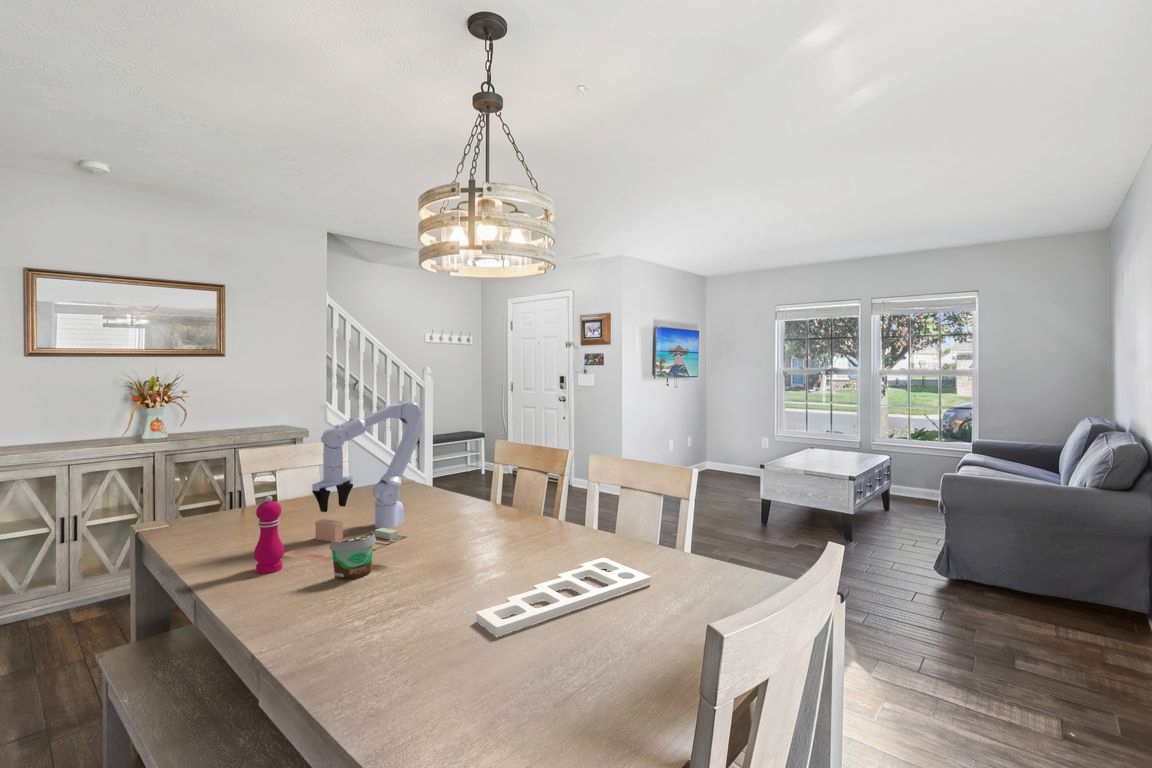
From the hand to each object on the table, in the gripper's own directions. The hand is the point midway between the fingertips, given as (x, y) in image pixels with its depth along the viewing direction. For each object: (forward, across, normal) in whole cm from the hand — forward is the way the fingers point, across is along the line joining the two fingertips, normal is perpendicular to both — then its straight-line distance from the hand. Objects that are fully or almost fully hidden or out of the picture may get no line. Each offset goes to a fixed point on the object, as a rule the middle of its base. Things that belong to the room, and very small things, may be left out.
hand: (333, 508), depth 178 cm
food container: (+10, +22, +31) cm, 39 cm away
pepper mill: (+10, +28, +6) cm, 30 cm away
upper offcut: (+8, -4, +18) cm, 20 cm away
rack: (+9, +1, +18) cm, 20 cm away
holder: (+10, +13, +85) cm, 86 cm away
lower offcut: (+10, -4, +18) cm, 21 cm away
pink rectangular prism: (+10, +5, +3) cm, 11 cm away
